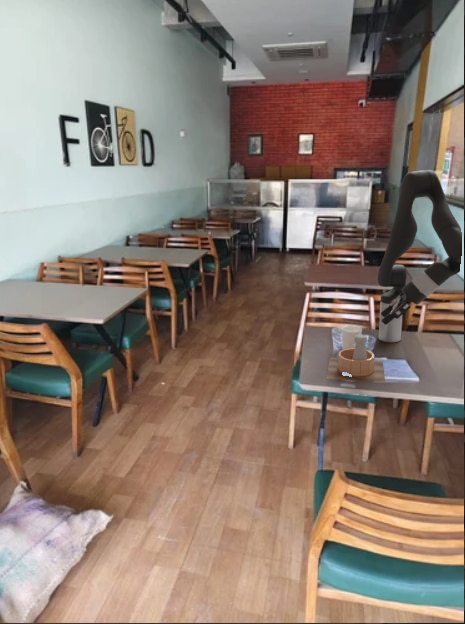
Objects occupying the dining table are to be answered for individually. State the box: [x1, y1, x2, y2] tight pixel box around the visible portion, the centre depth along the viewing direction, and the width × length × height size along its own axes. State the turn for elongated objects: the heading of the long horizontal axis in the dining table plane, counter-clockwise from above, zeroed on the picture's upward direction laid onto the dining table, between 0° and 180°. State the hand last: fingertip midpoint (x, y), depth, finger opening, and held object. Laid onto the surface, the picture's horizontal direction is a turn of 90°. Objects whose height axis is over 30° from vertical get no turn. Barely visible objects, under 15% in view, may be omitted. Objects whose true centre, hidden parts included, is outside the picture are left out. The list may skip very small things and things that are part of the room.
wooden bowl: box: [337, 348, 375, 377], centre depth 158 cm, size 13×13×6 cm
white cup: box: [341, 325, 363, 350], centre depth 177 cm, size 8×8×10 cm
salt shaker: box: [352, 334, 368, 360], centre depth 154 cm, size 6×6×13 cm
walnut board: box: [325, 357, 386, 385], centre depth 159 cm, size 20×20×1 cm
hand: (382, 319), depth 151 cm, fingers open, 8 cm apart
